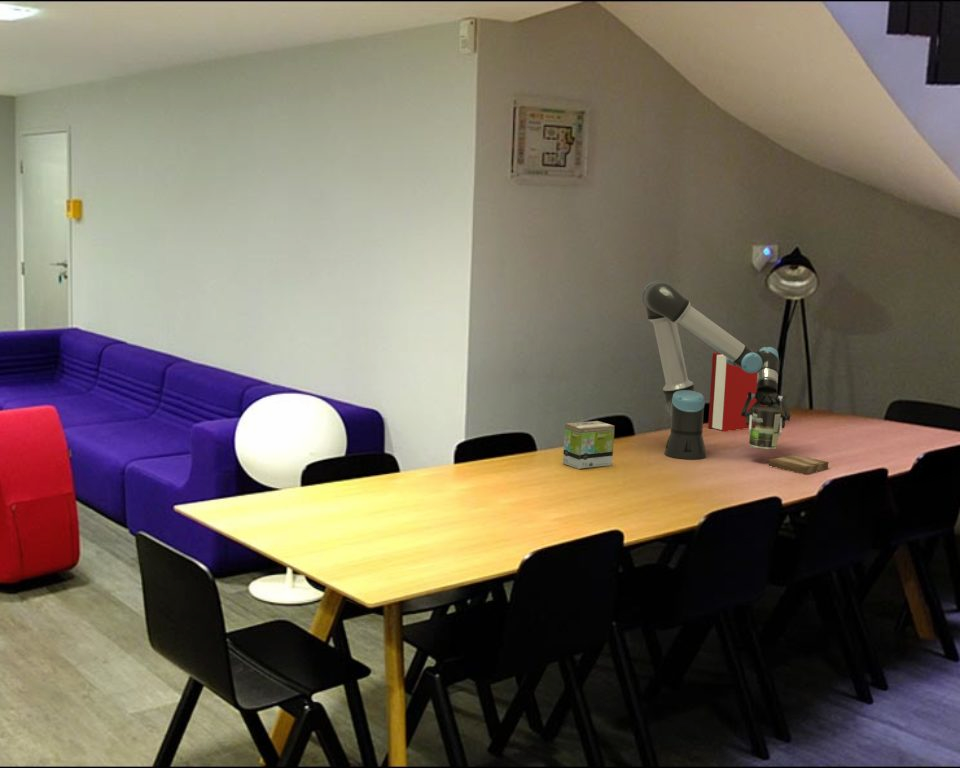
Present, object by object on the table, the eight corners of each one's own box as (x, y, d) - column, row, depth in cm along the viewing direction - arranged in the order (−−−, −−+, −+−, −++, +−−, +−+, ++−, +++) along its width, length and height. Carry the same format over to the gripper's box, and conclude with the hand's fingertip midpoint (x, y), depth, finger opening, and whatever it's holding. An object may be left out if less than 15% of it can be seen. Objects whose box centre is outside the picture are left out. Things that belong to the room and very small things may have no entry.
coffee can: (759, 449, 389) (763, 411, 387) (743, 443, 399) (746, 405, 396) (783, 449, 393) (787, 410, 391) (766, 442, 402) (770, 405, 400)
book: (722, 431, 450) (727, 355, 445) (707, 428, 456) (712, 353, 451) (766, 426, 465) (772, 352, 460) (752, 422, 472) (757, 350, 467)
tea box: (579, 470, 374) (581, 428, 372) (562, 464, 383) (563, 423, 380) (613, 465, 383) (615, 424, 380) (595, 459, 391) (597, 419, 389)
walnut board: (805, 474, 377) (806, 467, 377) (768, 466, 388) (768, 459, 388) (827, 468, 388) (828, 461, 387) (790, 461, 398) (791, 453, 398)
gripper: (797, 392, 405) (795, 441, 393) (735, 387, 410) (732, 435, 397) (799, 380, 400) (798, 430, 387) (737, 375, 404) (733, 424, 391)
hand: (764, 433), depth 392 cm, fingers closed on coffee can, 10 cm apart
